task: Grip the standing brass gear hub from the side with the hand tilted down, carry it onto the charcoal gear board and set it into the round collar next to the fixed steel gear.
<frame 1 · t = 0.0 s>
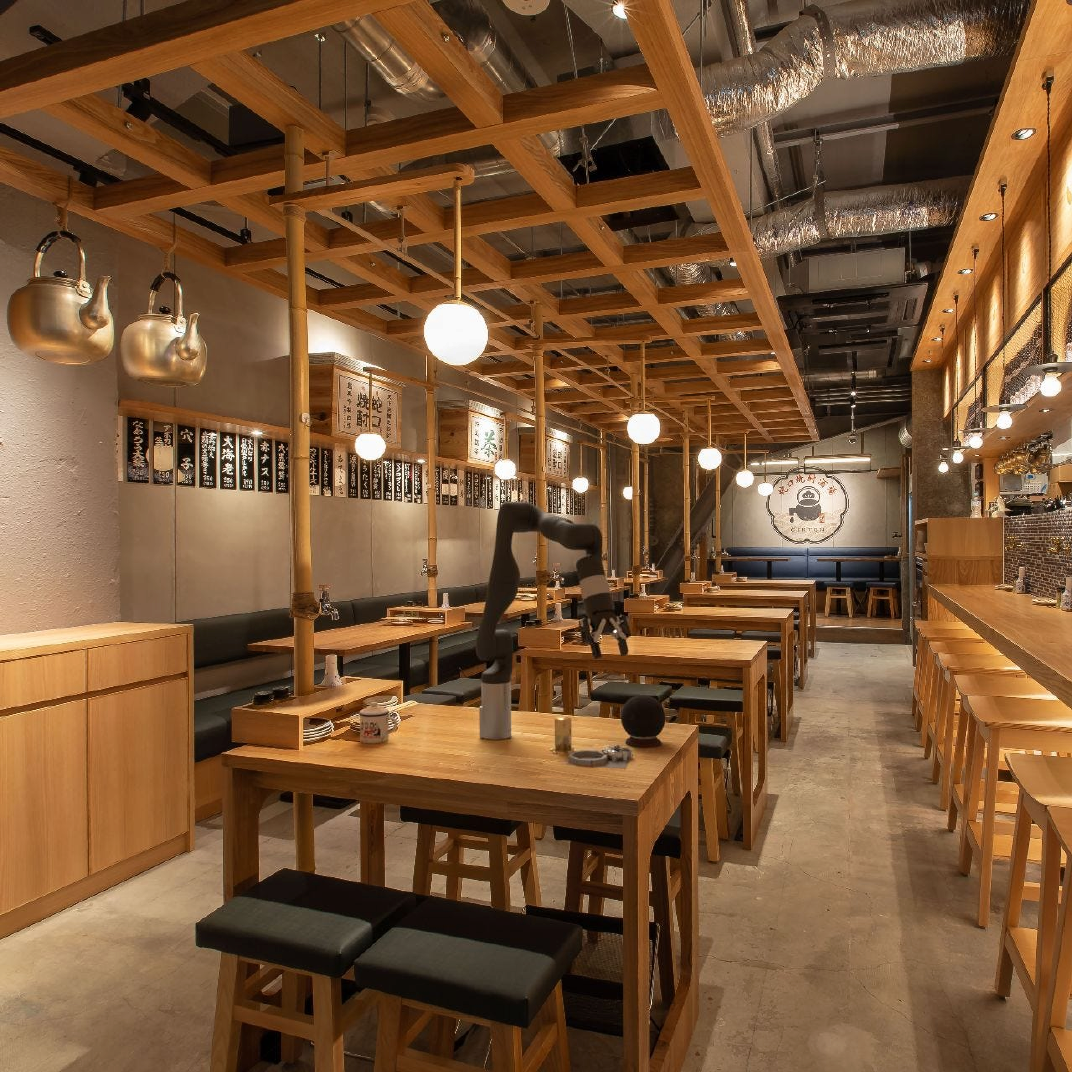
hand: (611, 656, 193), 31 cm above the table, tool tilted 20°, fingers open, 8 cm apart
gear board: (600, 762, 210), on the table
teacup with lid: (378, 741, 237), on the table
black ball on stand: (643, 746, 227), on the table
gear hub: (563, 753, 219), on the table
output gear: (616, 757, 212), resting on gear board
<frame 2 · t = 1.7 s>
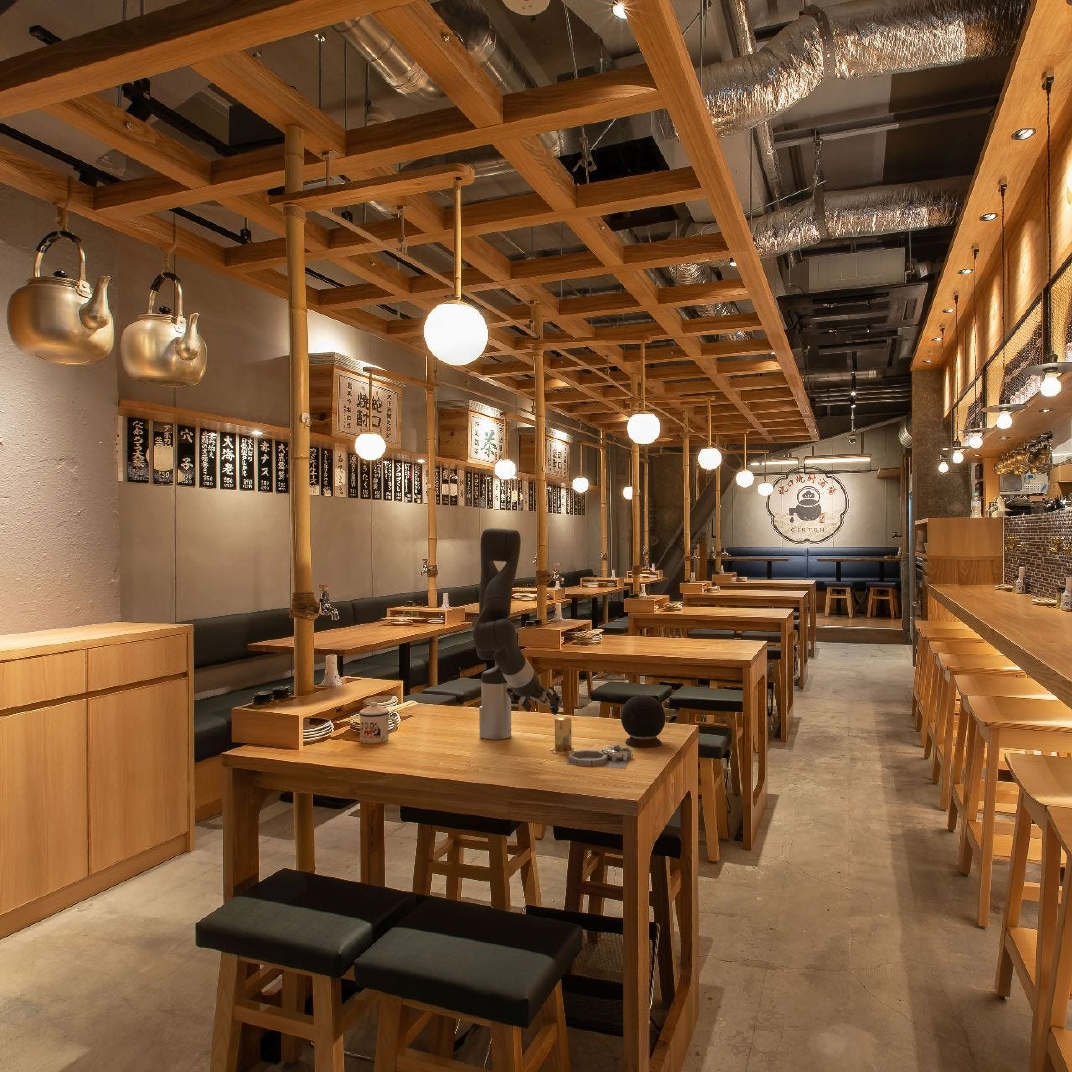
hand: (542, 710, 210), 14 cm above the table, tool tilted 45°, fingers open, 8 cm apart
nothing on the table moved.
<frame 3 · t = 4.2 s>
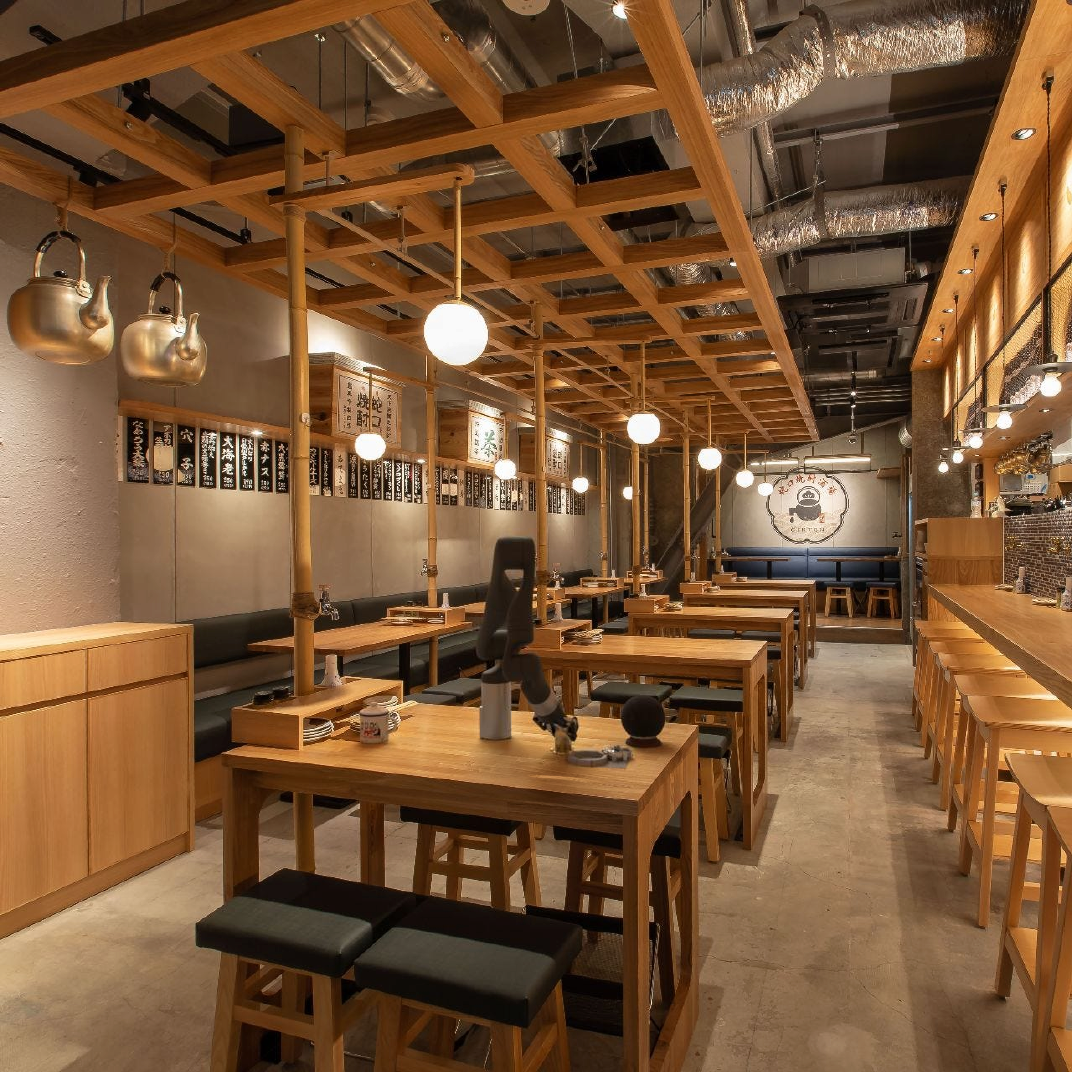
hand: (566, 737, 221), 4 cm above the table, tool tilted 45°, fingers closed on gear hub, 4 cm apart
gear hub: (563, 753, 219), on the table, touching gripper
everything else where it was.
when the fingers open (7 cm above the table, at t = 8.3 s): gear hub drops 2 cm, resting on gear board.
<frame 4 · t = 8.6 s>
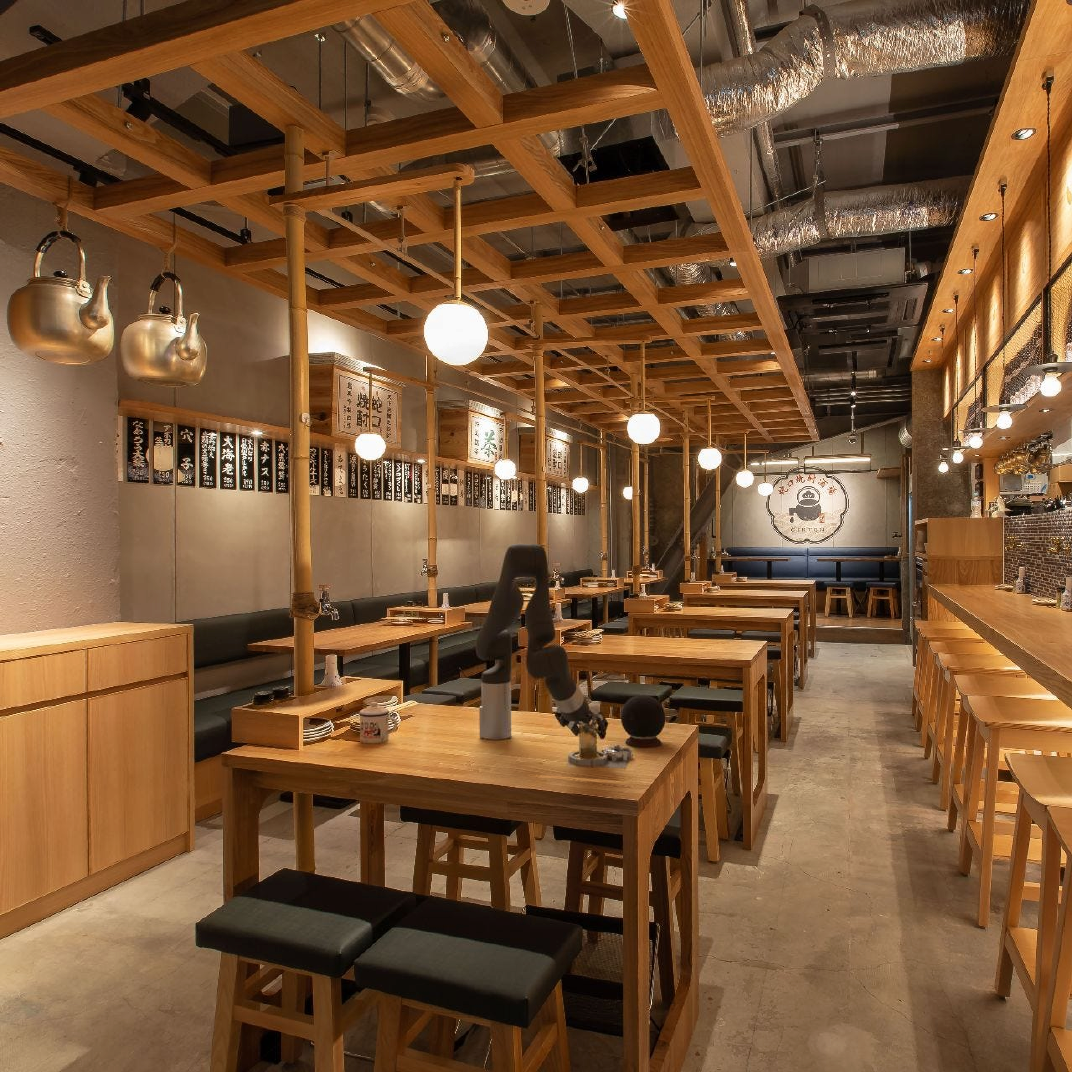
hand: (590, 734, 211), 8 cm above the table, tool tilted 45°, fingers open, 7 cm apart
gear hub: (588, 760, 209), point 1 cm above the table, touching gear board
everything else where it was.
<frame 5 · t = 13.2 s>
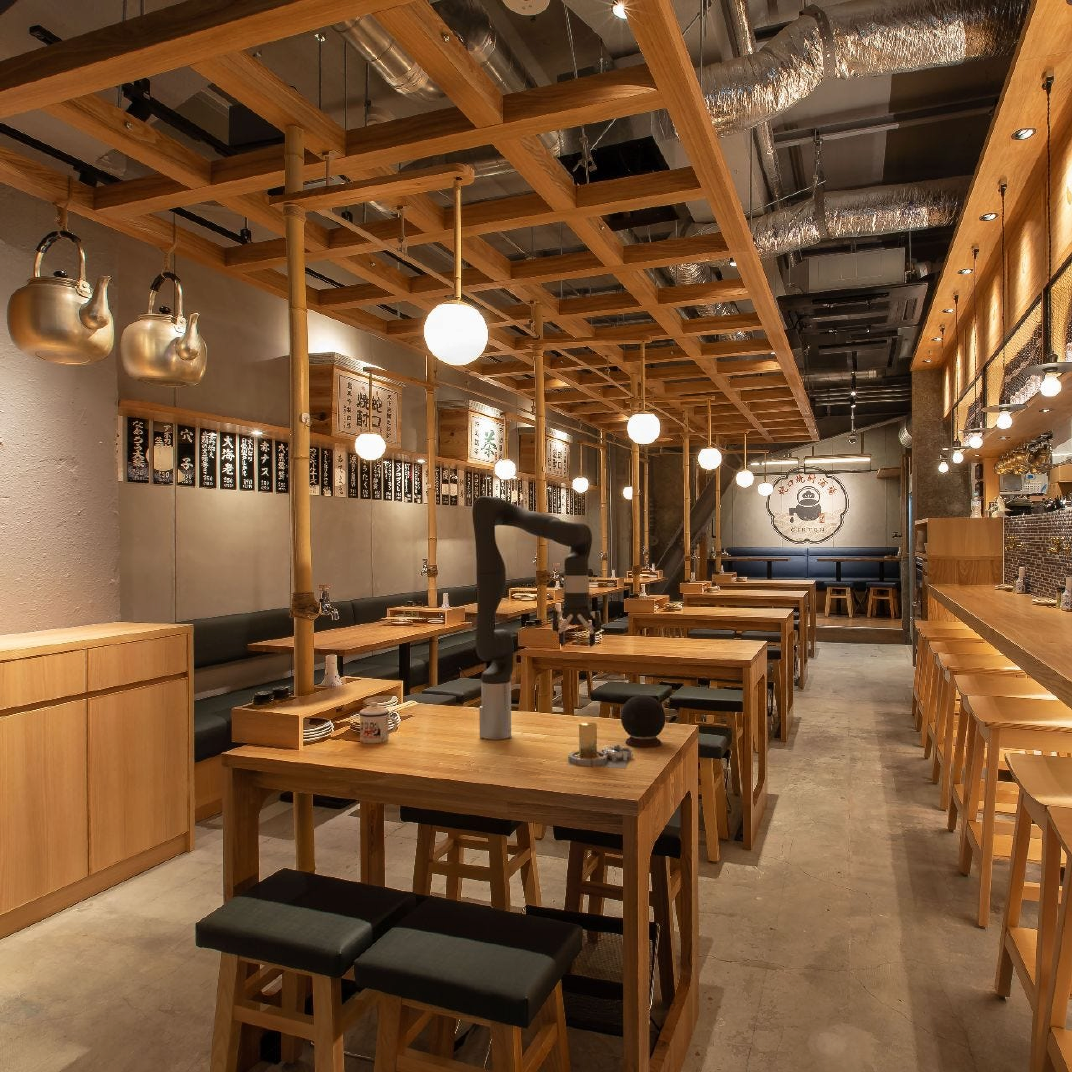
hand: (577, 646, 225), 30 cm above the table, tool pointing down, fingers open, 8 cm apart
nothing on the table moved.
at the end: gear hub 0.1 cm from the target spot on the gear board, point 0.8 cm above the gear board's base; gear hub tilted 0°; the gripper is holding nothing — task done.
